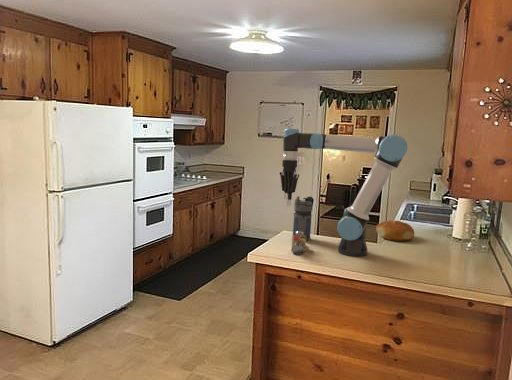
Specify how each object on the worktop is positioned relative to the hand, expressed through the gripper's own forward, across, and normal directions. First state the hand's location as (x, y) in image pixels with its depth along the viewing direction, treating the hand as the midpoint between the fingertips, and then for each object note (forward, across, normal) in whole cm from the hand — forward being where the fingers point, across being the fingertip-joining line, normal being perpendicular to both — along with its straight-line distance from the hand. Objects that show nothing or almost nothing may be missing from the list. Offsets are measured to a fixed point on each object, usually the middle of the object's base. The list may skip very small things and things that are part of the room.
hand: (287, 205), depth 213 cm
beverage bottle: (+24, -13, +24) cm, 36 cm away
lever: (+16, +6, +3) cm, 17 cm away
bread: (+24, +10, +78) cm, 82 cm away
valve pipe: (+23, +2, +7) cm, 24 cm away
